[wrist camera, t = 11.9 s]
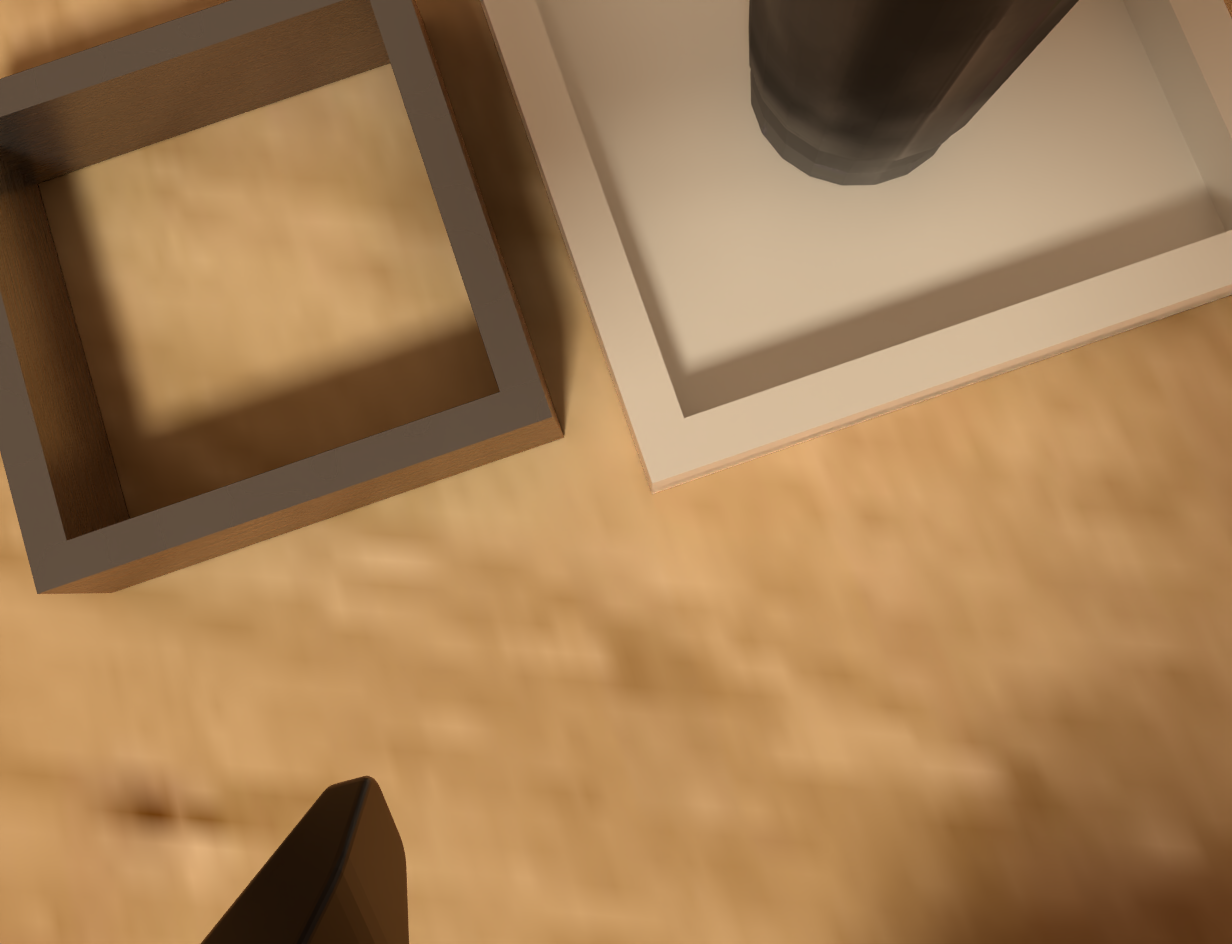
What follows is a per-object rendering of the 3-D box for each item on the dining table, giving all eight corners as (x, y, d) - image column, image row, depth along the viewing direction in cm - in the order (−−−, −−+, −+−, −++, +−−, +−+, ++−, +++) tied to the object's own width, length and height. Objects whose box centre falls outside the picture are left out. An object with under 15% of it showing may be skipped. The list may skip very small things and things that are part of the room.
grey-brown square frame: (421, 18, 22) (392, -55, 19) (564, 437, 21) (552, 417, 18) (-5, 163, 22) (-88, 109, 19) (111, 592, 20) (37, 593, 18)
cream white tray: (1019, -261, 22) (1060, -354, 20) (1263, 283, 20) (1337, 247, 18) (455, -69, 22) (434, -141, 20) (651, 494, 20) (652, 483, 18)
